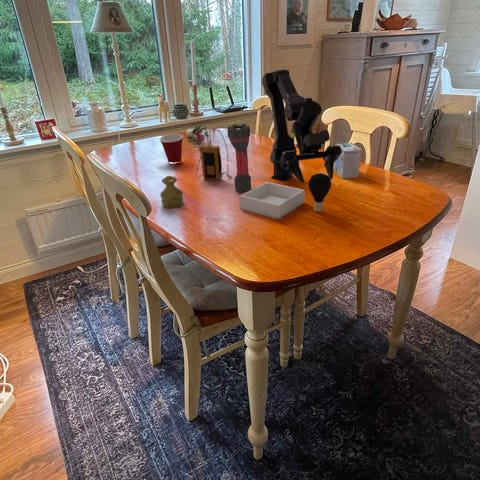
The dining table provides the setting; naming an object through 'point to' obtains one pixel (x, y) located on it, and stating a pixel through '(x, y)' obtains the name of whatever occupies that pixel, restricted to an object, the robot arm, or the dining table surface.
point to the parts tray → (272, 200)
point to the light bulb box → (348, 161)
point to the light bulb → (319, 189)
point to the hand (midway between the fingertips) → (317, 180)
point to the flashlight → (241, 155)
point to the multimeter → (211, 160)
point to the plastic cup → (172, 147)
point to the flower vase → (196, 134)
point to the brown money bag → (171, 194)
